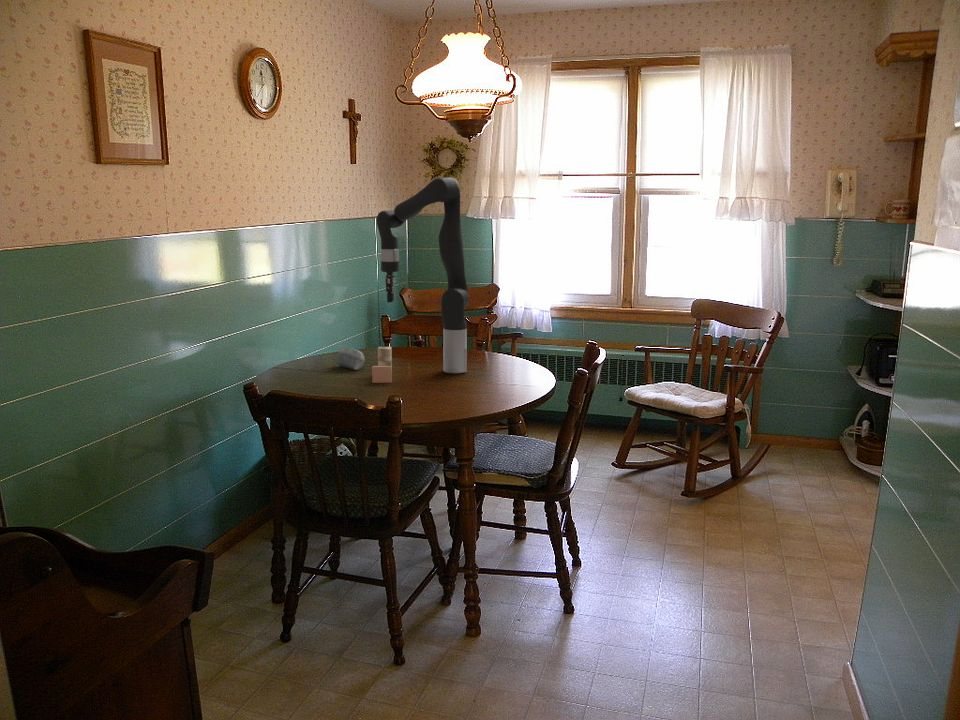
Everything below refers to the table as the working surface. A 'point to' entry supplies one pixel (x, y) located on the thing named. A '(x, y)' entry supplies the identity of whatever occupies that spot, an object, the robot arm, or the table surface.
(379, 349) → the keeper
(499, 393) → the table surface
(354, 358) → the grey rounded lump
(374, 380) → the block
